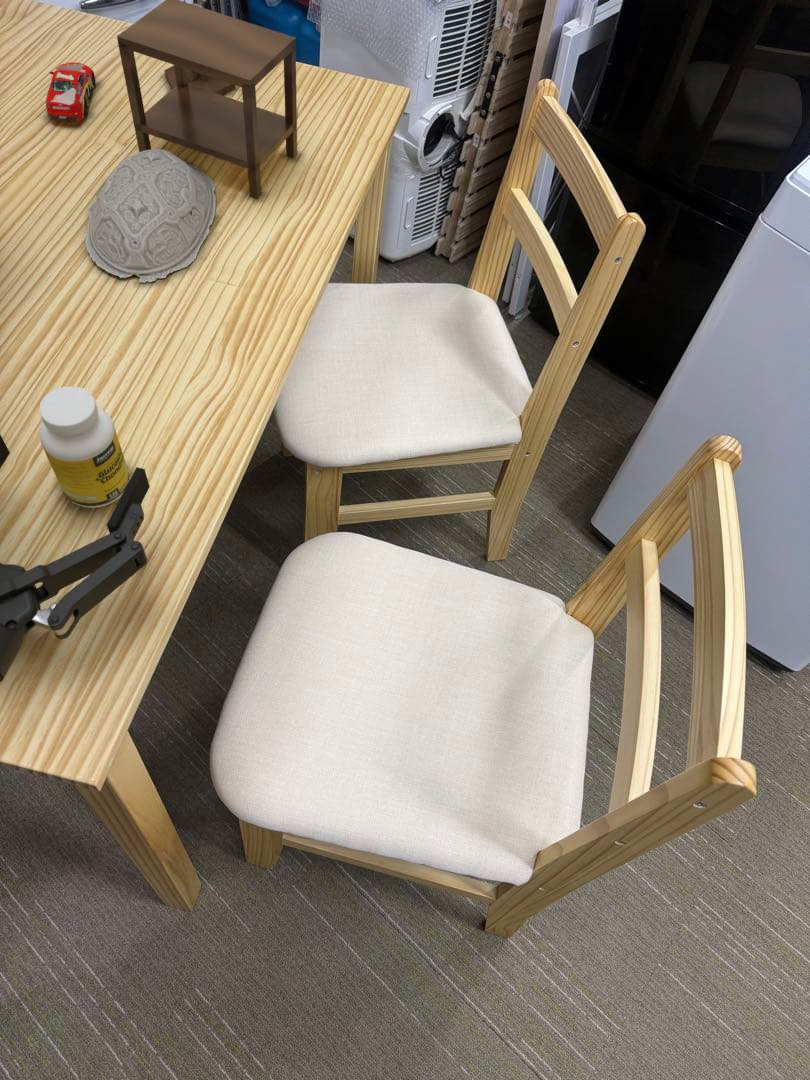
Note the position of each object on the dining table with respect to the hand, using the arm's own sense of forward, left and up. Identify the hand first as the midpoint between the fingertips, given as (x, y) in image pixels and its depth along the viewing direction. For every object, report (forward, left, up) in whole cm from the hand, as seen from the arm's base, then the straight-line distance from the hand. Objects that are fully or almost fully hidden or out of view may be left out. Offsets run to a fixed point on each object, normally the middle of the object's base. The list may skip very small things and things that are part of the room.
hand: (72, 459), depth 71 cm
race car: (-42, +58, -7) cm, 72 cm away
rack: (-17, +57, -6) cm, 60 cm away
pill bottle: (0, +2, -7) cm, 7 cm away
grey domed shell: (-18, +41, -7) cm, 45 cm away
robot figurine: (-29, +72, -7) cm, 78 cm away
